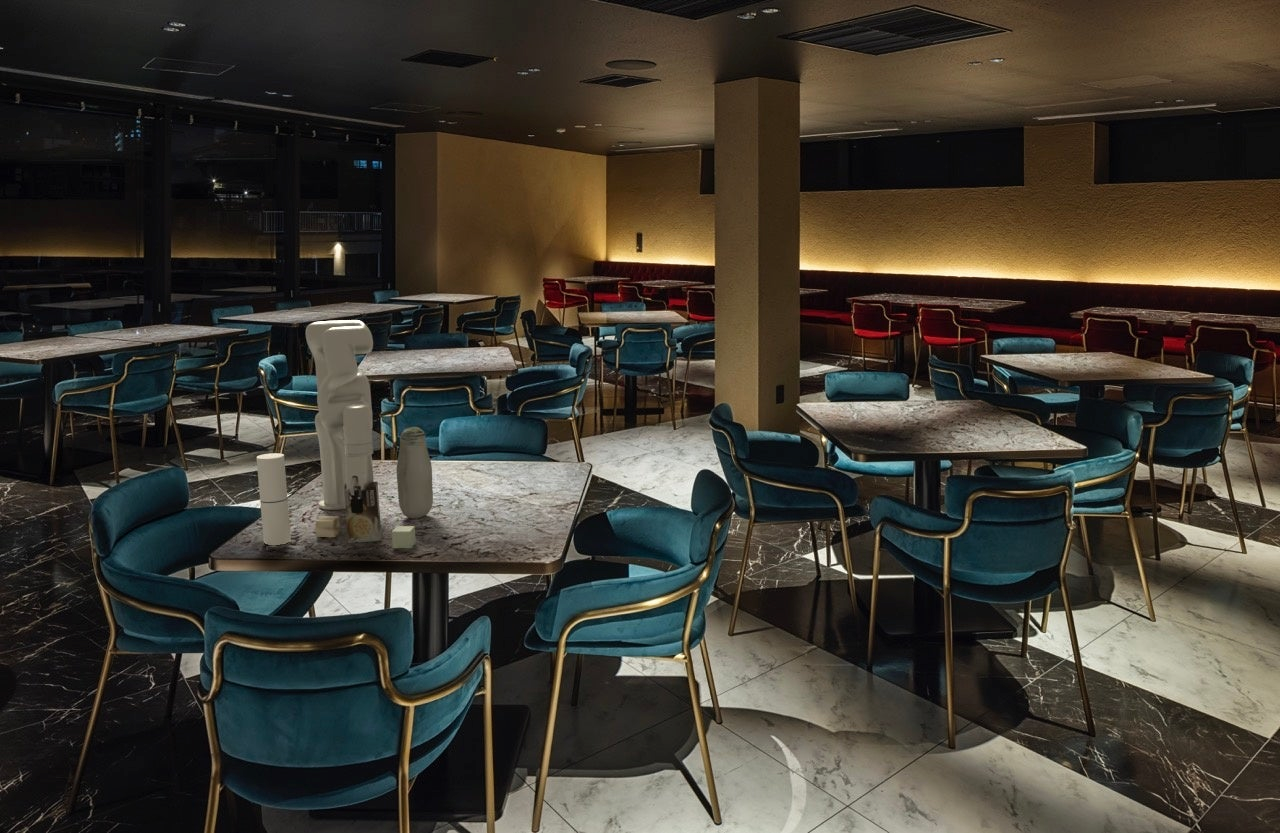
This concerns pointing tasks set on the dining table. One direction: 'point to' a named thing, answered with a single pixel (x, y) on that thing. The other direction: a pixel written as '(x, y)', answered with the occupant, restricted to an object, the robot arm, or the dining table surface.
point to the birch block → (327, 526)
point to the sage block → (403, 537)
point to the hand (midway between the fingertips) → (363, 508)
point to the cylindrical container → (273, 498)
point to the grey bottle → (414, 474)
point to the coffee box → (364, 516)
